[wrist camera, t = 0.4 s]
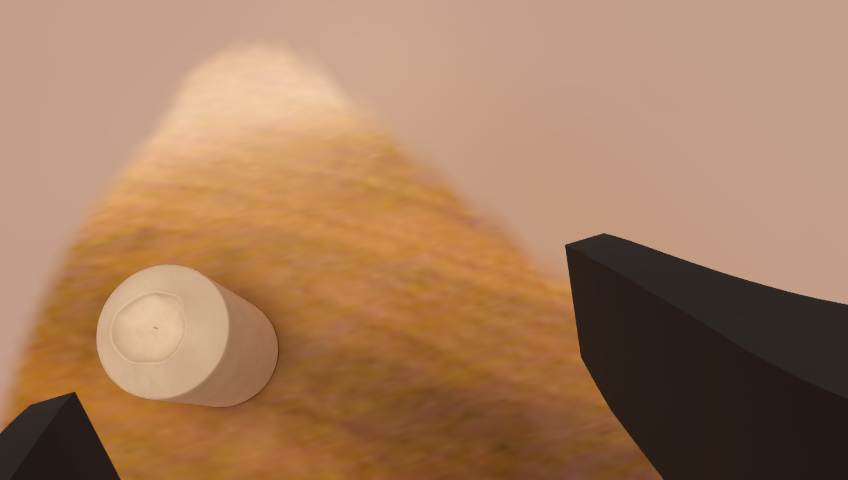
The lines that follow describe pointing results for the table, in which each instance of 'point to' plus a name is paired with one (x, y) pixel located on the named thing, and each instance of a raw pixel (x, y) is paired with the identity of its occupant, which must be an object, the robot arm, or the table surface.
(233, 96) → the table surface
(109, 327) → the candle
